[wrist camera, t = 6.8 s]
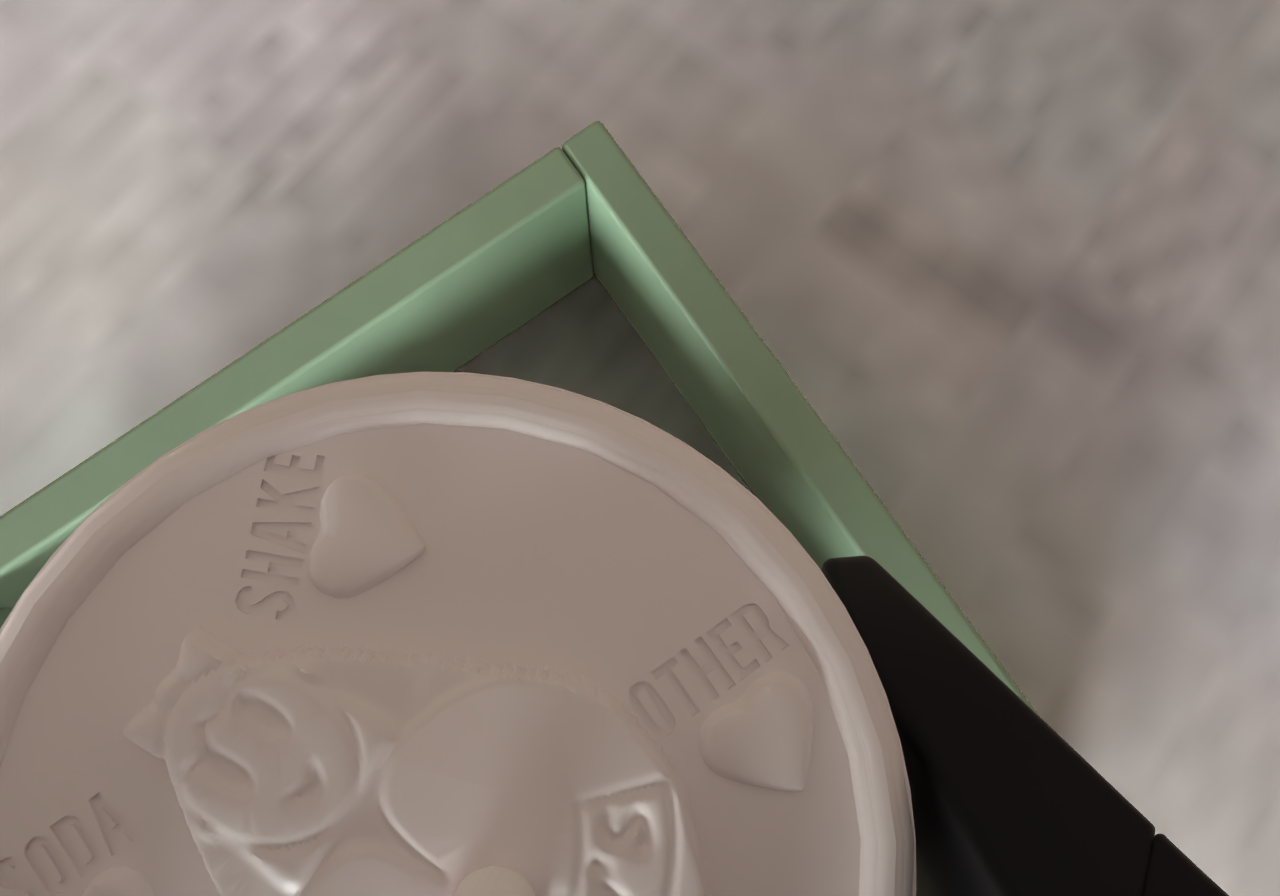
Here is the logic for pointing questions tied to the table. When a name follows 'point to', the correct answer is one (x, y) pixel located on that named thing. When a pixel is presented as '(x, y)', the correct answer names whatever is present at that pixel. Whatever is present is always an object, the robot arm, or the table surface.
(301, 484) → the smoothie
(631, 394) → the table surface
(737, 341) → the green open tray
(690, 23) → the table surface
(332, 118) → the table surface
